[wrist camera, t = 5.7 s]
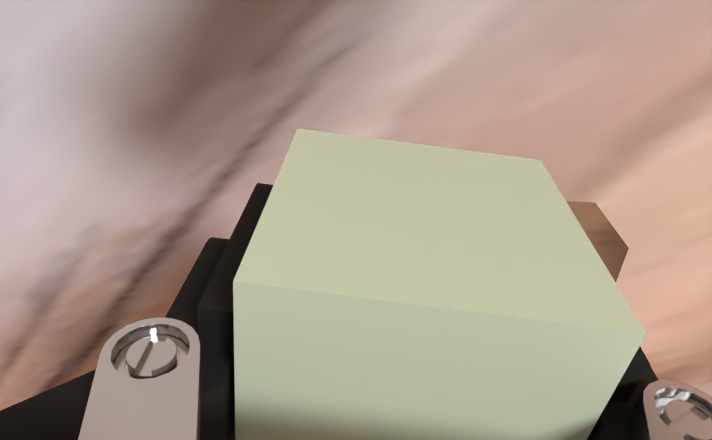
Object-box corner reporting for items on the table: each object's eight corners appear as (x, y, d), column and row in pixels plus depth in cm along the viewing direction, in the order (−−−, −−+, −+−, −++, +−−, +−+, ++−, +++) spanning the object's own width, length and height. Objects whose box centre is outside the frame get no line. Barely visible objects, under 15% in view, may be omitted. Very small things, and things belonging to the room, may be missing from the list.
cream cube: (540, 159, 10) (647, 333, 6) (481, 337, 13) (526, 545, 9) (297, 128, 10) (233, 281, 6) (286, 312, 13) (236, 511, 9)
